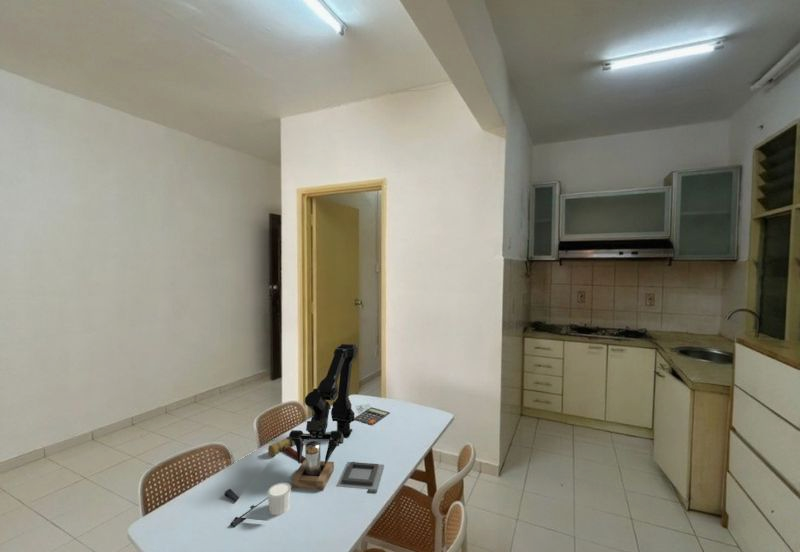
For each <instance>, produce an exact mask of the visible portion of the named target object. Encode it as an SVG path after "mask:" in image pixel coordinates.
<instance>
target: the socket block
mask: <svg viewBox="0 0 800 552" xmlns="http://www.w3.org/2000/svg"><path fill="white" fill-rule="evenodd" d="M334 468H335V462H334V461H328V462H327V464H325V460H321V474H320V476H319V477H317V476H306V460H304V461H303V463H300V466H299V468H297V470H296V472H295V473H294V475H293V476H292V477H291V489H301V490H314V491H324V490H325V488H326V486H327V484H328V483H329V480H330V479H331V476H332V474H333V473H334V470H335V469H334Z"/></svg>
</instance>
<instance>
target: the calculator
mask: <svg viewBox="0 0 800 552" xmlns="http://www.w3.org/2000/svg"><path fill="white" fill-rule="evenodd" d="M390 414H391V412H389V411H386V410H383V409H382V410H381V409H379V408H375V407H370V408H368V409H366V410H364V411H363V412H361V413H360V414H358V415H356V416H354V421H357V422H360V423H363V424H367V425H369V426H374V425H375V424H377V423H378V422H380V421H381V420H383V419H384V418H385V417H388V415H390Z"/></svg>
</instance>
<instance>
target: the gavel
mask: <svg viewBox="0 0 800 552" xmlns="http://www.w3.org/2000/svg"><path fill="white" fill-rule="evenodd" d="M294 446H296V445H295V444H294V443H293V442H292V441H291V440H290V439H289V436H287V437H286V438H285V439H282V440H280V441H278V442H275V443H274V442H273V443H271V444H269V446H268V449H267V450H268V455H269V456H270V457H272V458H274V457H276V456H277V455H278V454H279V453H281V452H285V454H287V455H289V456H290V457H291V458H293V459H295V461H298V457H297V450H295V449H294V448H292V447H294ZM304 460H306V456H304V455H302V457H301V461H300V464H302V463H303V461H304Z"/></svg>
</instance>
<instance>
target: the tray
mask: <svg viewBox="0 0 800 552" xmlns="http://www.w3.org/2000/svg"><path fill="white" fill-rule="evenodd" d="M384 469H385V464H382V463H371V462H370V463H369V462H356V461H347V463H346V464H345V466H344V468H343V471H342V472H341V475H340V477H339V478H338V479H339V480H338V481H337V483H336V485H335V487H337V488H338V487H340V488H350V489H353V488H354V489H360V490H367V491H366V492H367V493H375V492H377V493H378V490H379V487H380V484H381V480H382V477H381V476H383V473H384ZM379 483H380V484H379Z"/></svg>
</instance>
